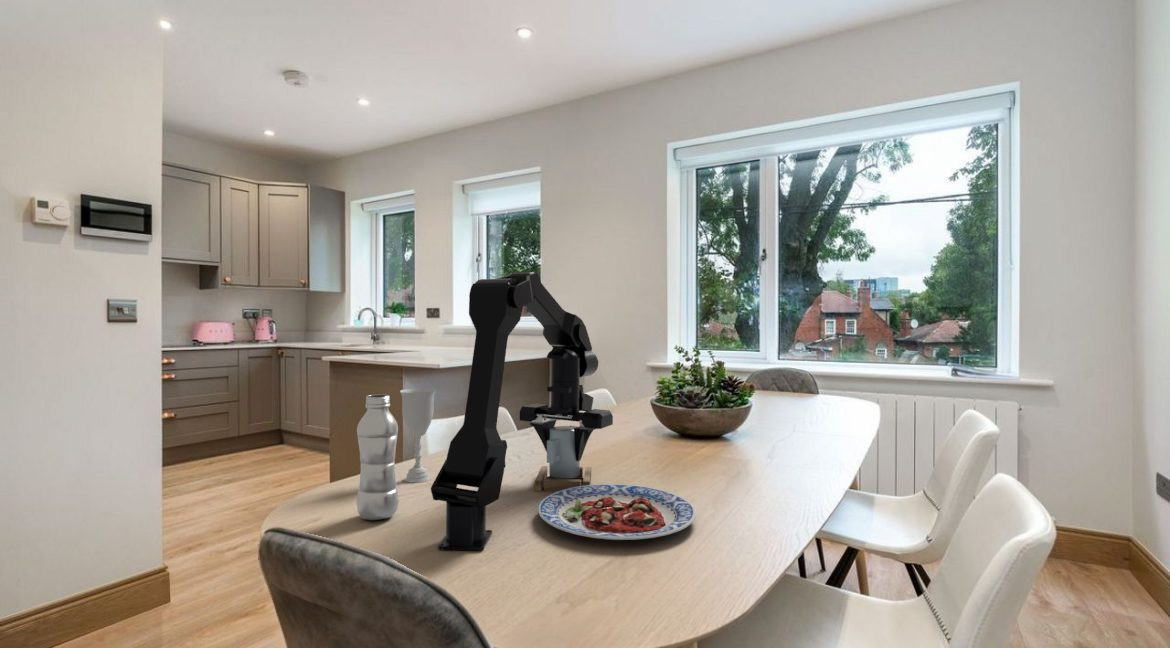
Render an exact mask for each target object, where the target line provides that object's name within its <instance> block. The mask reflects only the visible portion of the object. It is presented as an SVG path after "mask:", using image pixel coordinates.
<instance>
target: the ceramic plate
mask: <svg viewBox="0 0 1170 648" xmlns="http://www.w3.org/2000/svg"><path fill="white" fill-rule="evenodd" d="M537 510H538V511H537V512H538V515H539V516H540V518H541V519H542V520H543V521H544V522H545V523H547V524H548V525H549V526H551V527H554V528H555V529H558V530H560V531H562V532H566V533H569V534H571V535H572V534H573V535H576V536H580V537H585V538H590V539H601V540H602V539H603V540H611V541H623V540H625V541H628V540H630V541H631V540H632V541H634V540H645V539H654V538H659V537H664V536H668V535H671V534H674V533H678V532H680V531H682V530H684V529H686V528H688V527H689V526H690V525H692V524H693V523H694V521H695V520H696V518H697V510H696V508H695V506H694V505H693V504H692V503H691V502H690V501H688V500H687V499H685V498H684V497H682V496H679V495H678V494H675V493H672V492H669V491H666V490H663V489H660V488H659V489H658V488H654V487H649V486H643V485H635V484H634V485H633V484H624V483H622V484H621V483H602V484H601V483H600V484H590V485H586V486H583V485H580V486H579V487H574V488H569V489H565V490H561V491H555V492H553V493H552V494H550V495H548V496H546V497H545V498H543V500H541V501H540V503H539V505H538V506H537Z"/></svg>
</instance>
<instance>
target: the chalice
mask: <svg viewBox="0 0 1170 648" xmlns="http://www.w3.org/2000/svg"><path fill="white" fill-rule="evenodd" d="M436 392H437V389H433V388H407V389H406V388H405V389H401V390H400V391H399V393H400V395H401V397H402V400H401V401H402V405H401V406H402V411H401V412H402V413H401V414H402V418H403V421H404V425H405V426H406V428H407V430H408V432H409V434H410V436H413V437H414V439H415V443H414V445H413V448H415V449H414V450H415V452H414V454H413V455H412V456H413V457H414V459H415V460H414V462H415V463H414V464H413V466H411V467H410V468H409V469H408V472H407V473H406V477H405V479H404V481H405V482H407V483H411V484H417V483H424V482H428V481H430V480H431V476H430V474H429V472H428V469H427V467H426V466H423V464H422V463H421V458H422V456H423V454H422V452H421V449H422V447H423V445H422V442H421V440H422V437H423V436H425V435H426V433H427V432H428V430H429V428H430V425H431V423H432V420H433V416H434V414H435V413H434V410H435V407H434V404H435V403H434V402H435V401H434V400H435V394H436Z"/></svg>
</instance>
